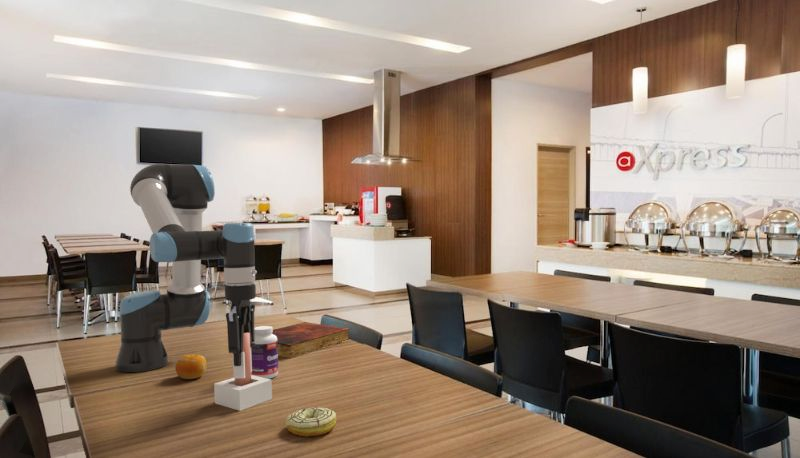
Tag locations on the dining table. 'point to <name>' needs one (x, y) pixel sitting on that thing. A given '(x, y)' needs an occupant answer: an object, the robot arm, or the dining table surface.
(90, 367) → the dining table surface
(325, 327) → the book
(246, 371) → the peg
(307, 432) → the decorated donut
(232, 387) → the socket block
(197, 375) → the fruit
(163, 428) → the dining table surface
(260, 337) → the pill bottle
